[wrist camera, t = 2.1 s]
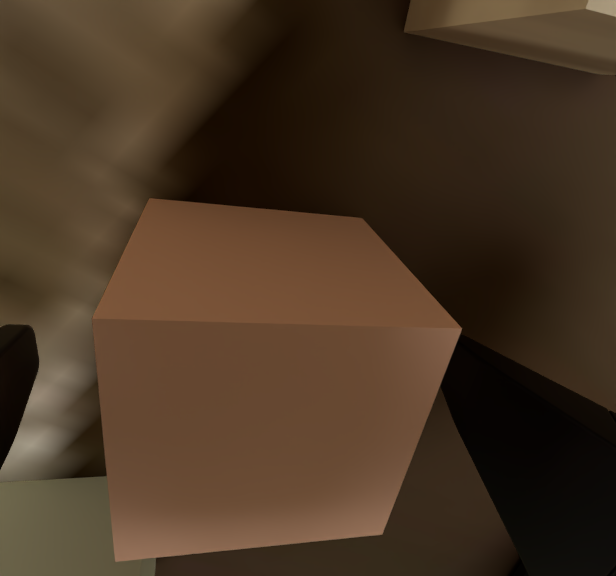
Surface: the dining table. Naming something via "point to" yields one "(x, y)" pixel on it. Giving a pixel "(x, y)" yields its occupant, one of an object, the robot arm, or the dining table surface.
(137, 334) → the terracotta block
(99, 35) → the dining table surface
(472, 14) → the birch block
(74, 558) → the sage block
